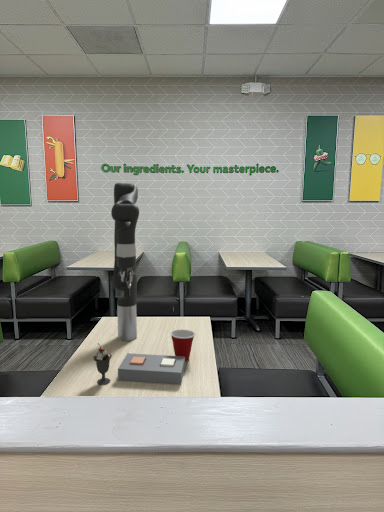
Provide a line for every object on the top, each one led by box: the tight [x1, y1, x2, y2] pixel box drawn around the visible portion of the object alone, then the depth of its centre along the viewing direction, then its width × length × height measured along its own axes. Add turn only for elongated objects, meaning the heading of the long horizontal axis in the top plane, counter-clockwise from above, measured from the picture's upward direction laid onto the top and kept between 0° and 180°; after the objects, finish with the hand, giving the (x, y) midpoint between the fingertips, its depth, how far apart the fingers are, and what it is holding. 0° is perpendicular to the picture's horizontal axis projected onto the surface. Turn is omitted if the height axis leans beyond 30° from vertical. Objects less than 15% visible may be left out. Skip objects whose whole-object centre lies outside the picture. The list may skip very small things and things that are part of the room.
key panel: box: [117, 352, 186, 386], centre depth 133 cm, size 13×24×5 cm, turn 85°
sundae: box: [93, 343, 113, 386], centre depth 126 cm, size 7×7×15 cm
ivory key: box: [161, 358, 175, 367], centre depth 132 cm, size 5×5×4 cm
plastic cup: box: [170, 329, 196, 362], centre depth 145 cm, size 11×11×12 cm
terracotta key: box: [130, 357, 145, 365], centre depth 133 cm, size 5×5×4 cm
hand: (127, 296), depth 137 cm, fingers closed
